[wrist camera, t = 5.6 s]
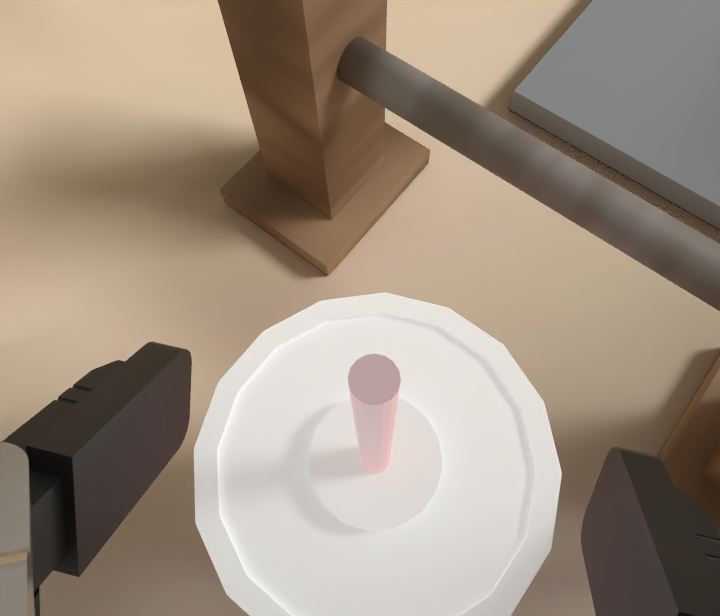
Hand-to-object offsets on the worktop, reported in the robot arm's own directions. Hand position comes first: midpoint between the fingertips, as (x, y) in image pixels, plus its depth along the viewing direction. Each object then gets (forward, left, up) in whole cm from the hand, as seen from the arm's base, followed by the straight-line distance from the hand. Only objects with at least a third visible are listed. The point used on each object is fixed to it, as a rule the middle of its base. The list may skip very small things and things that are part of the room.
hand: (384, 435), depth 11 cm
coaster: (0, -19, -8) cm, 21 cm away
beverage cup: (0, +1, -8) cm, 8 cm away
